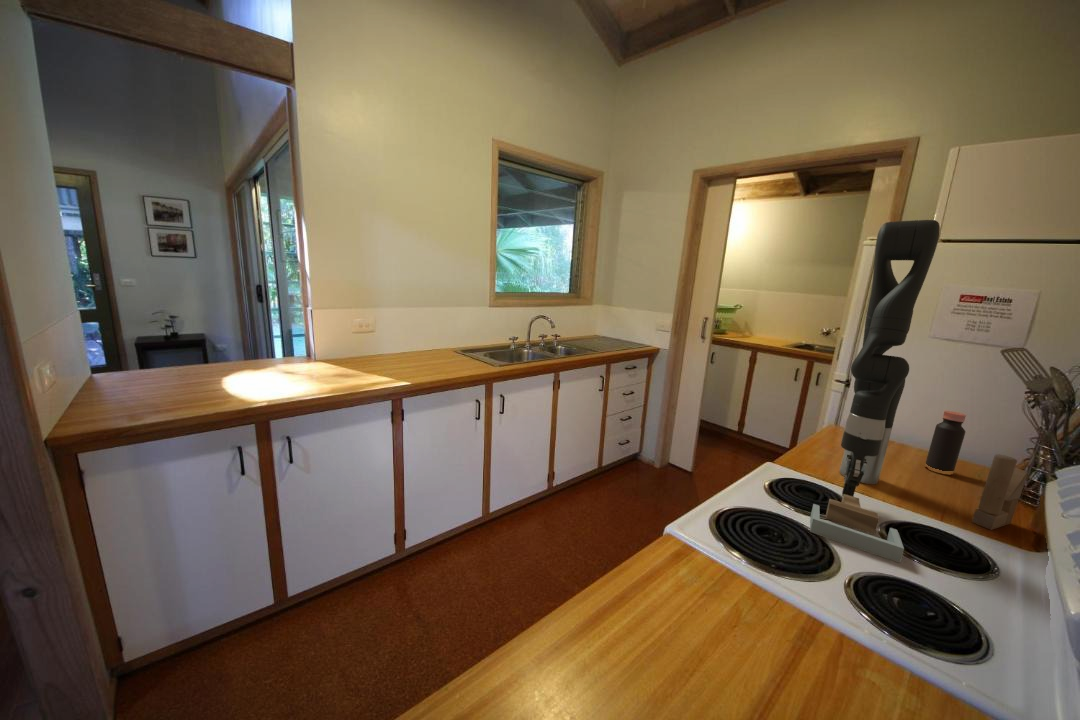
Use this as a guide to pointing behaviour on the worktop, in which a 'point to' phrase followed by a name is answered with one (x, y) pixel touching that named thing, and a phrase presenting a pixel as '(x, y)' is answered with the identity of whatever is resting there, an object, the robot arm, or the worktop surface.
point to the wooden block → (1000, 493)
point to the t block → (852, 514)
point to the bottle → (946, 442)
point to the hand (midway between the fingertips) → (847, 497)
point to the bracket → (858, 537)
